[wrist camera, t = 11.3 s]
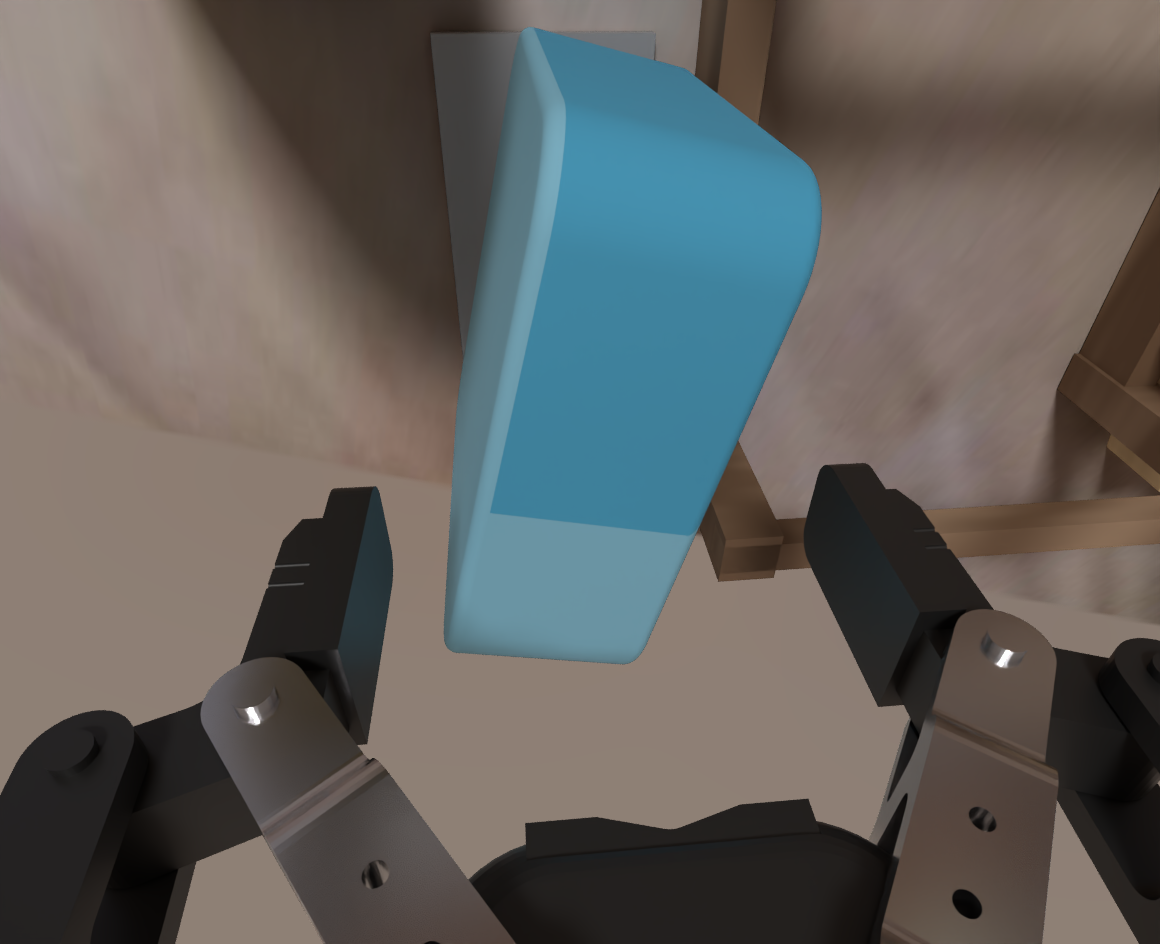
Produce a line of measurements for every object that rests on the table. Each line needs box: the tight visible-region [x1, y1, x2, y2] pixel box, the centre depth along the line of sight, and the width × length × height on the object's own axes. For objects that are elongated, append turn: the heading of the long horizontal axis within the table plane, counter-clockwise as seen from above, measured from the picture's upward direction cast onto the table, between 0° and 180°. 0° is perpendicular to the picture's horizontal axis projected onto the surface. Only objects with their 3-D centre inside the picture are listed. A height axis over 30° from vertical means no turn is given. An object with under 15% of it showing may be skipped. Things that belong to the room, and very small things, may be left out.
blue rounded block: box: [444, 27, 822, 664], centre depth 18 cm, size 12×4×12 cm, turn 166°
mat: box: [430, 32, 656, 360], centre depth 23 cm, size 6×12×1 cm, turn 179°
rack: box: [695, 0, 1160, 582], centre depth 19 cm, size 18×19×9 cm
